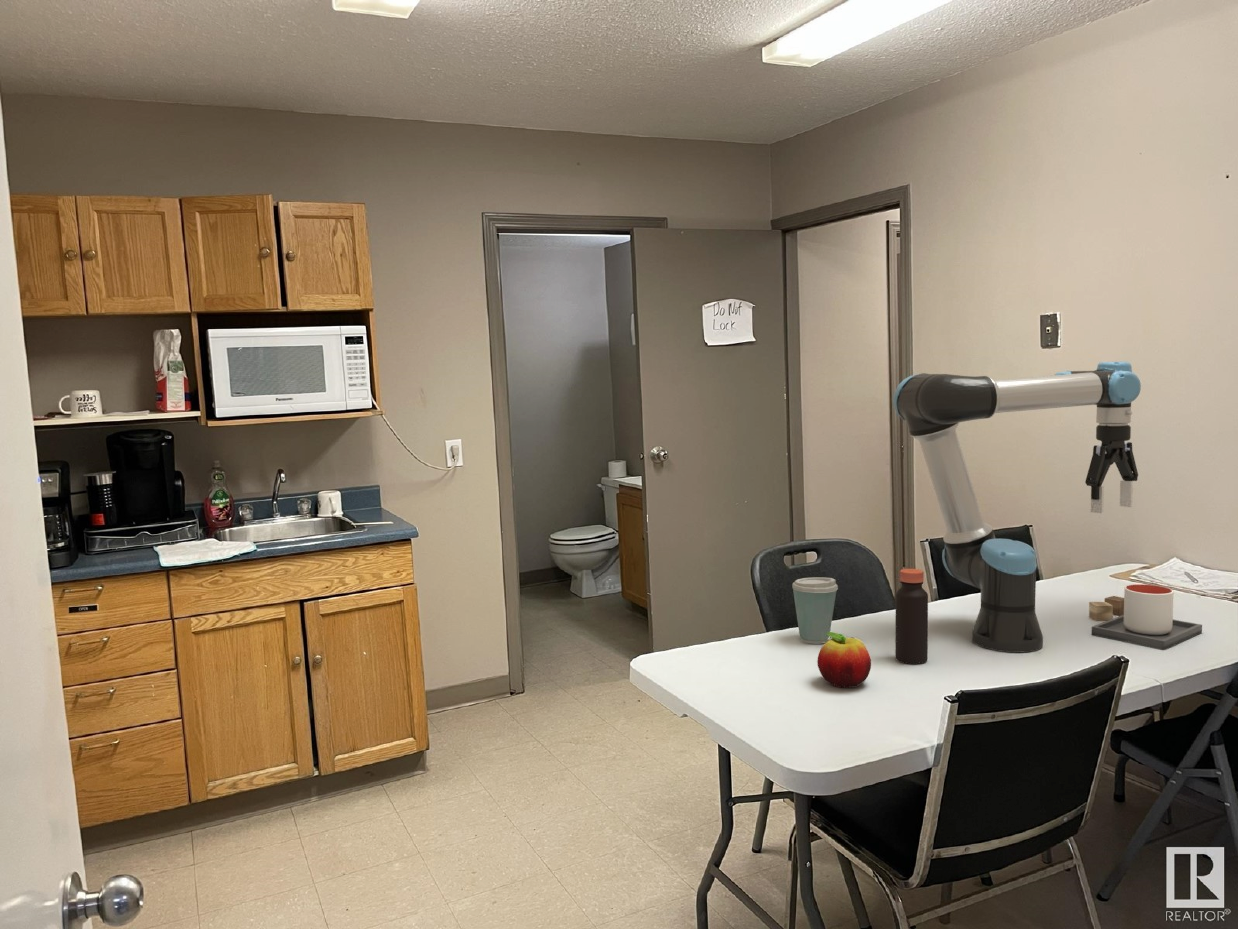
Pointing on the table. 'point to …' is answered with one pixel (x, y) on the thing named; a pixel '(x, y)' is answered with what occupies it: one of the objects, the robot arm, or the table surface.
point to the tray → (1121, 633)
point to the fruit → (844, 661)
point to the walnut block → (1116, 604)
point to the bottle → (911, 618)
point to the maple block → (1100, 611)
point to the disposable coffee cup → (814, 607)
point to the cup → (1148, 609)
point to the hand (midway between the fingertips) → (1111, 509)
